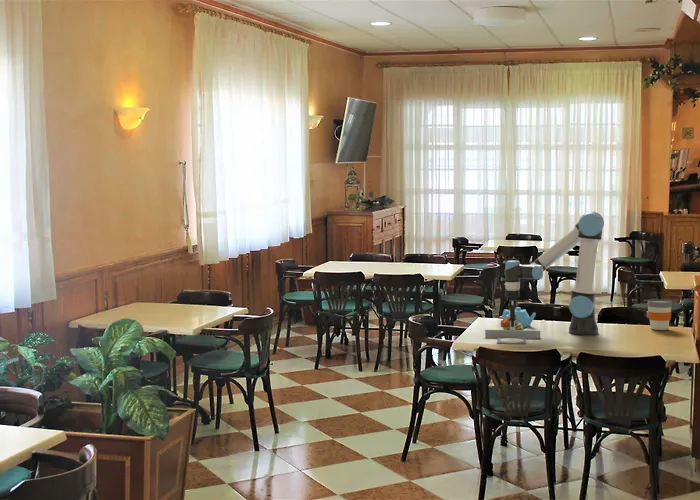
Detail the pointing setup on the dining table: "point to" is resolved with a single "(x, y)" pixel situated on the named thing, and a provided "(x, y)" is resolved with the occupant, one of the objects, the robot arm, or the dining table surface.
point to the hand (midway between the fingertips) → (512, 331)
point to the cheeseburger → (506, 324)
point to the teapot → (520, 316)
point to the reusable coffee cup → (659, 314)
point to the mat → (511, 341)
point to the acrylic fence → (512, 333)
